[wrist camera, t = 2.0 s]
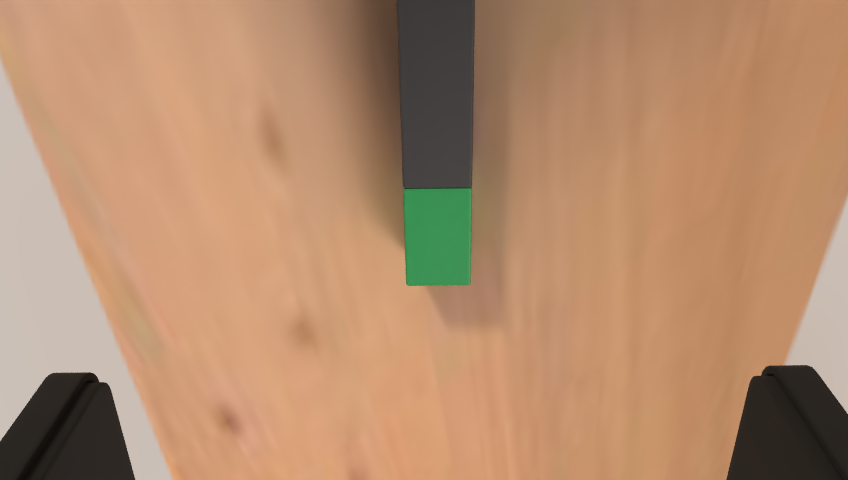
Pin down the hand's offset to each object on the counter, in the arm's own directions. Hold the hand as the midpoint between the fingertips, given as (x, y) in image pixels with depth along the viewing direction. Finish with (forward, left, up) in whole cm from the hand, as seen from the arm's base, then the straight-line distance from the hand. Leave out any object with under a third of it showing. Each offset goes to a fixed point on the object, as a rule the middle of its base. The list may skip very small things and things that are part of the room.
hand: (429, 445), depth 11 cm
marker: (0, 0, -18) cm, 18 cm away
